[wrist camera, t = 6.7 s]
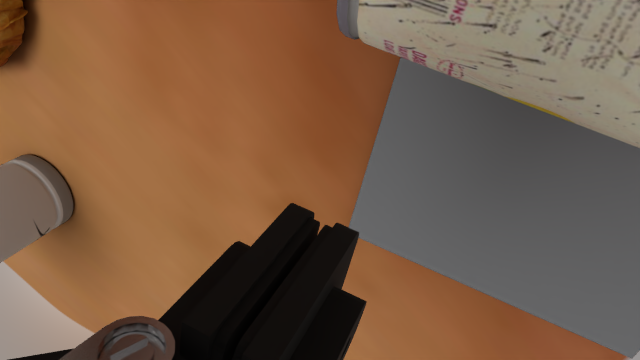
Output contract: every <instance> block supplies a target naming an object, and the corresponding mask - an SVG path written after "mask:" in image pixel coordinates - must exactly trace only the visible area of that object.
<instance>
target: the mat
mask: <svg viewBox="0 0 640 360" xmlns="http://www.w3.org/2000/svg"><path fill="white" fill-rule="evenodd" d="M349 228H351V229H353V230H355V231H357V232H359V237H358V238H361V239H363V240H365V241H367V242H370V243H372V244H374V245H376V246H379V247H381V248H383V249H385V250H388V251H390V252H392V253H394V254H397V255H399V256H401V257H403V258H406V259H408V260H410V261H413V262H415V263H417V264H419V265H422V266H424V267H426V268H428V269H431V270H433V271H435V272H437V273H440V274H442V275H444V276H446V277H449V278H451V279H453V280H455V281H458V282H460V283H462V284H465V285H467V286H469V287H471V288H474V289H476V290H478V291H480V292H483V293H485V294H487V295H489V296H492V297H494V298H496V299H498V300H501V301H503V302H505V303H507V304H510V305H512V306H514V307H517V308H519V309H521V310H523V311H526V312H528V313H530V314H532V315H535V316H537V317H539V318H541V319H544V320H546V321H548V322H550V323H553V324H555V325H557V326H559V327H562V328H564V329H566V330H569V331H571V332H573V333H575V334H578V335H580V336H582V337H584V338H587V339H589V340H591V341H593V342H596V343H598V344H600V345H602V346H605V347H607V348H609V349H611V350H614V351H616V352H618V353H621V354H623V355H625V356H627V357H630V358H633V357H634V356H635V355H636V354H637V353H638V351H639V350H640V148H638V147H635V146H633V145H630V144H627V143H625V142H622V141H620V140H617V139H614V138H612V137H609V136H606V135H604V134H601V133H599V132H596V131H593V130H591V129H588V128H585V127H583V126H580V125H578V124H575V123H572V122H570V121H567V120H564V119H562V118H559V117H557V116H554V115H551V114H549V113H546V112H543V111H541V110H538V109H536V108H533V107H530V106H528V105H525V104H522V103H520V102H517V101H515V100H512V99H509V98H507V97H504V96H501V95H499V94H496V93H494V92H491V91H488V90H486V89H483V88H481V87H478V86H475V85H473V84H470V83H467V82H465V81H462V80H460V79H457V78H454V77H452V76H449V75H446V74H444V73H441V72H439V71H436V70H433V69H431V68H428V67H425V66H423V65H420V64H418V63H415V62H412V61H410V60H407V59H404V58H402V57H401V58H400V61H399V65H398V68H397V71H396V75H395V78H394V81H393V84H392V88H391V91H390V94H389V97H388V101H387V104H386V107H385V110H384V114H383V117H382V120H381V123H380V127H379V130H378V133H377V136H376V140H375V143H374V146H373V150H372V153H371V156H370V159H369V163H368V166H367V169H366V172H365V176H364V179H363V182H362V185H361V189H360V192H359V195H358V198H357V202H356V205H355V208H354V211H353V215H352V218H351V221H350V225H349Z"/></svg>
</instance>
